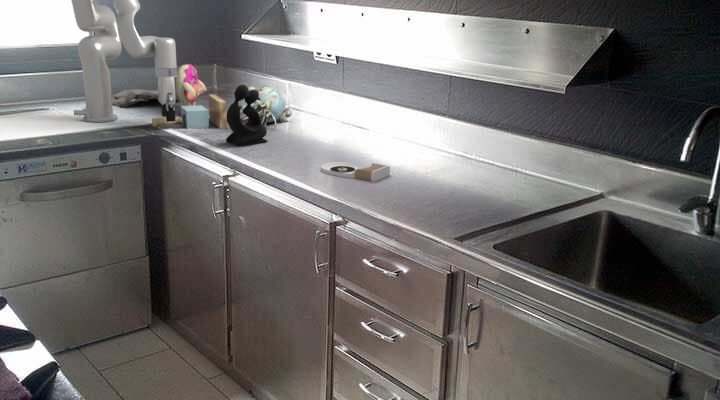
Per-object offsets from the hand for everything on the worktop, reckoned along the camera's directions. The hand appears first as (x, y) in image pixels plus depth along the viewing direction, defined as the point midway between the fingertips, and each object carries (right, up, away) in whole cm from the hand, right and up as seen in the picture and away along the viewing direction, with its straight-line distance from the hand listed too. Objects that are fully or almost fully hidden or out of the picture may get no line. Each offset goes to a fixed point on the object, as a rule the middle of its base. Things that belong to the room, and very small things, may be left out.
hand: (168, 118), depth 258 cm
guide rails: (0, -3, +1) cm, 3 cm away
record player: (+69, -23, -53) cm, 90 cm away
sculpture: (+35, -1, +10) cm, 36 cm away
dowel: (-1, -3, +2) cm, 3 cm away
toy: (+2, +5, +28) cm, 29 cm away
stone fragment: (-22, +12, +46) cm, 52 cm away
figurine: (+33, -11, -20) cm, 40 cm away
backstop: (+17, -1, +8) cm, 19 cm away
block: (+9, -2, +5) cm, 10 cm away
